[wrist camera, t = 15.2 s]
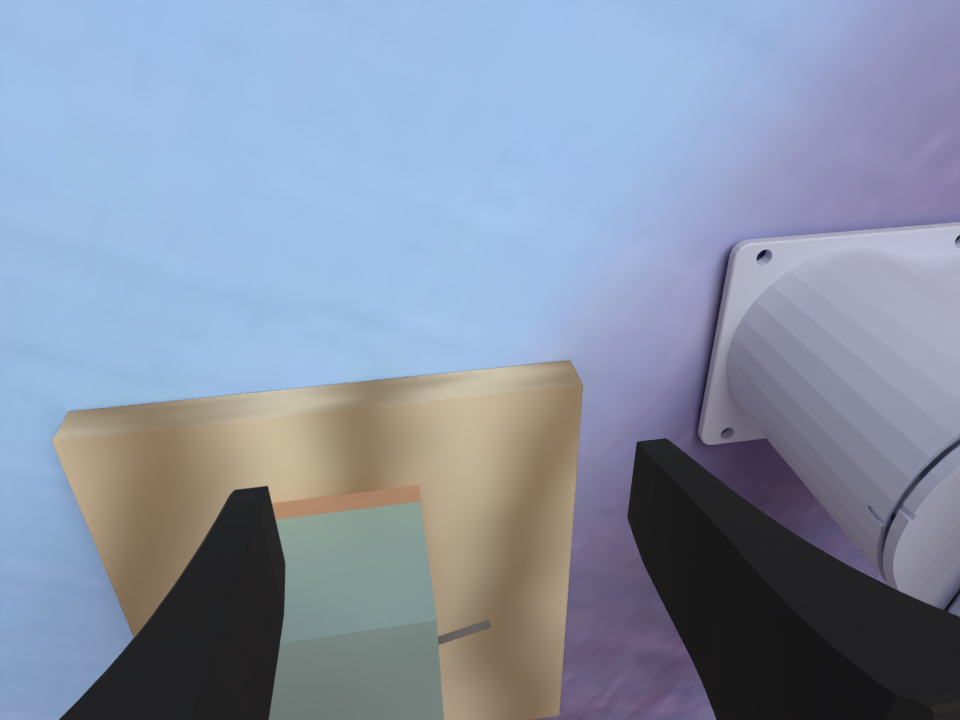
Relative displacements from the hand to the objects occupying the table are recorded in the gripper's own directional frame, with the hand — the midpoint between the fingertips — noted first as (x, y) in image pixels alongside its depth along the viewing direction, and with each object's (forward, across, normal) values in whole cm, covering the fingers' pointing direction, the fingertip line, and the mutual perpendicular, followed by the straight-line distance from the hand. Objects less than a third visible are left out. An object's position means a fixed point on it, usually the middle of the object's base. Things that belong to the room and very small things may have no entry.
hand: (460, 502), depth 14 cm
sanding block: (+8, +3, +11) cm, 14 cm away
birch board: (+9, +3, +12) cm, 16 cm away
